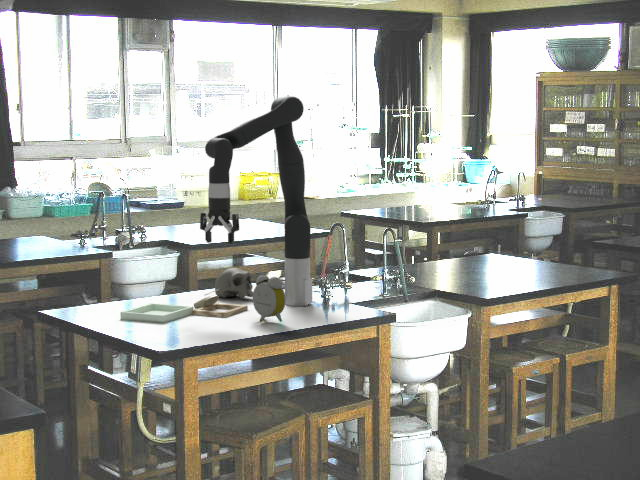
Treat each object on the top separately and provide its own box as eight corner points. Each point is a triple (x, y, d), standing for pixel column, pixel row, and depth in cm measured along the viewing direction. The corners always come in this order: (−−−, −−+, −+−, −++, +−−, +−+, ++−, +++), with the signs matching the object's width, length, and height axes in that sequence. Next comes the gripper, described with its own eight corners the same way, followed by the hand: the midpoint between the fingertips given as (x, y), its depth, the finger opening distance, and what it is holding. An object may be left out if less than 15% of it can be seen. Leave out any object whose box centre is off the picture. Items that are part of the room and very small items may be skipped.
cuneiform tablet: (205, 294, 361) (189, 299, 370) (210, 306, 361) (193, 310, 371) (222, 287, 365) (205, 292, 375) (226, 299, 365) (209, 304, 375)
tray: (193, 313, 360) (193, 306, 360) (163, 323, 343) (163, 315, 343) (151, 310, 367) (151, 303, 367) (120, 319, 350) (120, 311, 350)
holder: (247, 309, 368) (247, 305, 368) (225, 317, 354) (225, 312, 353) (215, 307, 373) (215, 303, 373) (192, 314, 359) (192, 310, 359)
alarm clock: (286, 321, 345) (286, 277, 344) (271, 324, 341) (271, 279, 339) (263, 317, 354) (263, 273, 352) (248, 319, 349) (247, 275, 347)
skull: (240, 302, 383) (240, 271, 382) (208, 297, 395) (208, 267, 394) (263, 299, 392) (263, 268, 390) (231, 294, 404) (230, 264, 403)
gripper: (242, 196, 360) (242, 242, 361) (207, 195, 365) (207, 240, 367) (232, 197, 353) (232, 245, 355) (195, 196, 359) (196, 243, 360)
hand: (219, 242), depth 361 cm, fingers open, 8 cm apart
